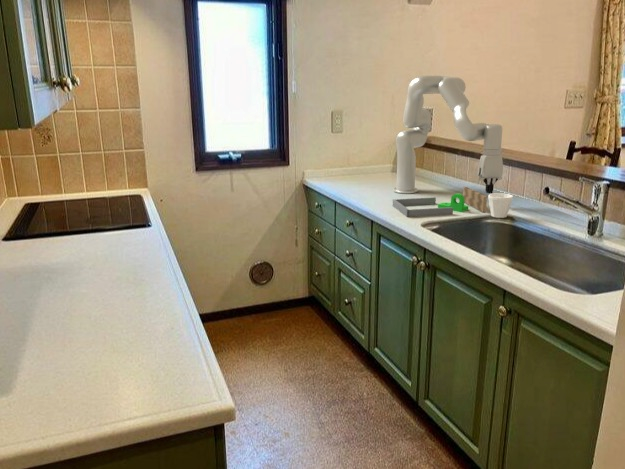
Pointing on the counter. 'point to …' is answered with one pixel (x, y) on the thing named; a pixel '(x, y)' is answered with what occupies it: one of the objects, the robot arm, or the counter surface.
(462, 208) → the mechanical part
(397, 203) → the grey tray
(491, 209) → the cup
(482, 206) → the gate
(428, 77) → the robot arm
